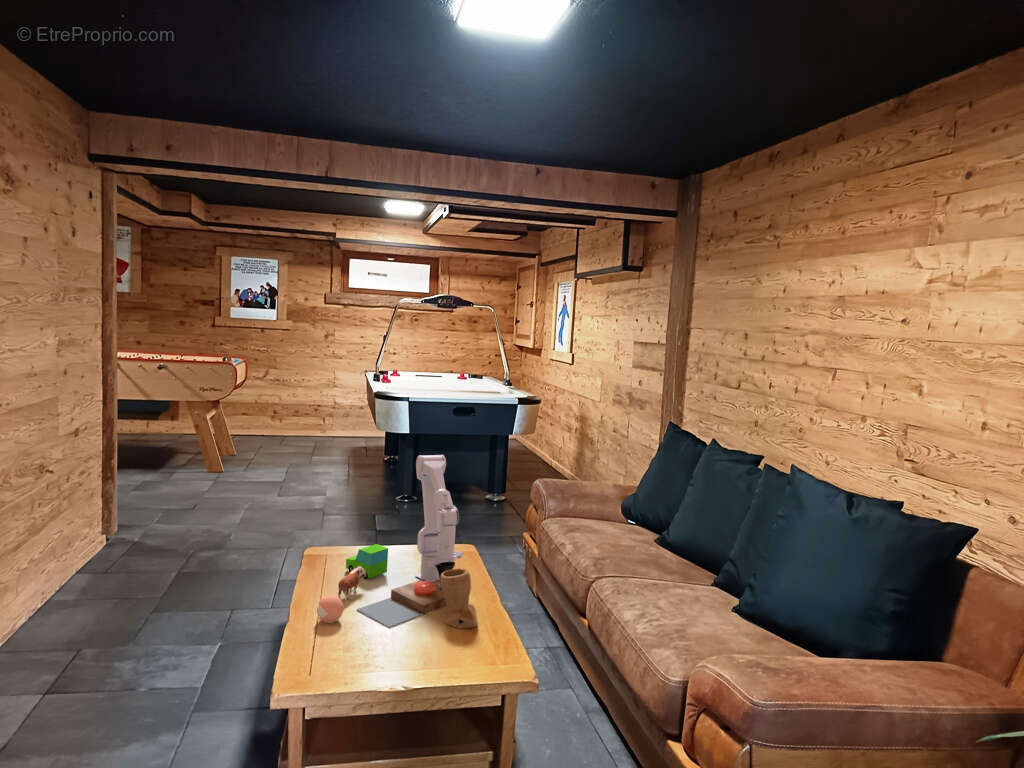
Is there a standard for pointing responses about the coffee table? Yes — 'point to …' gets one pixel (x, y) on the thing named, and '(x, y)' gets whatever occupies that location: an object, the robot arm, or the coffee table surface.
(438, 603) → the board
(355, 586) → the bull figurine
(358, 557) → the toy car
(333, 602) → the egg
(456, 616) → the brown boot
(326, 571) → the coffee table surface
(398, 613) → the mat
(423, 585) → the red ball
